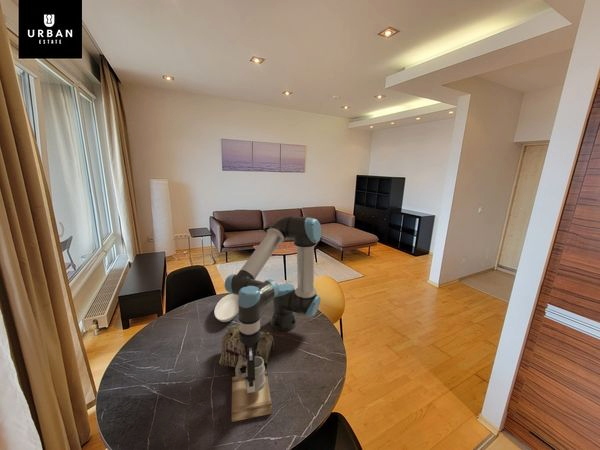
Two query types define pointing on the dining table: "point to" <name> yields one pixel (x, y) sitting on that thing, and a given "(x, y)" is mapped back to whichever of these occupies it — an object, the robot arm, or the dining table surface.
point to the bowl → (227, 308)
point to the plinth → (249, 400)
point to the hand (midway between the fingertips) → (250, 382)
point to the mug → (259, 372)
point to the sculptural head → (243, 347)
